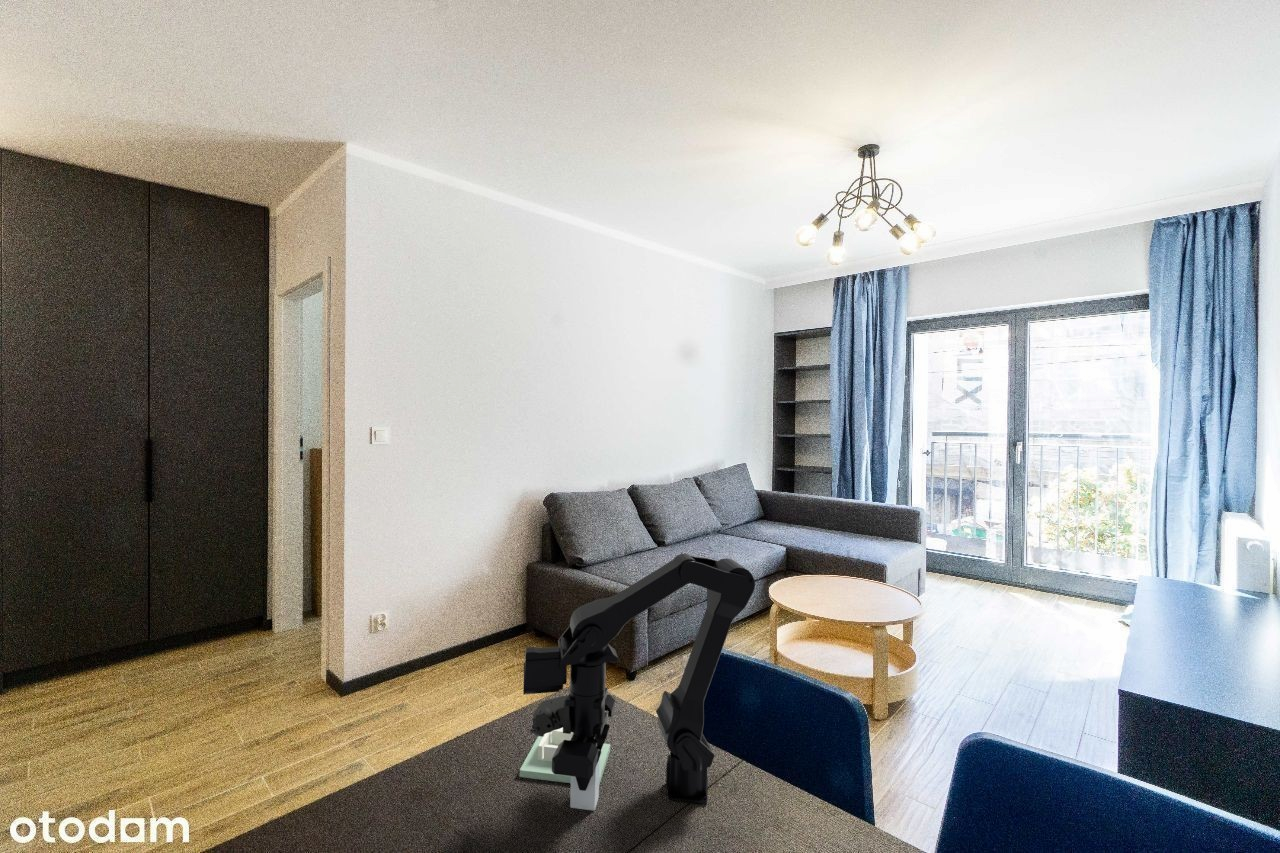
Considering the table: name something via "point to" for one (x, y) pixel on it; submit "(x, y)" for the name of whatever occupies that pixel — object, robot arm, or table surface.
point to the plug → (585, 792)
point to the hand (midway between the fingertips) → (585, 782)
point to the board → (543, 752)
